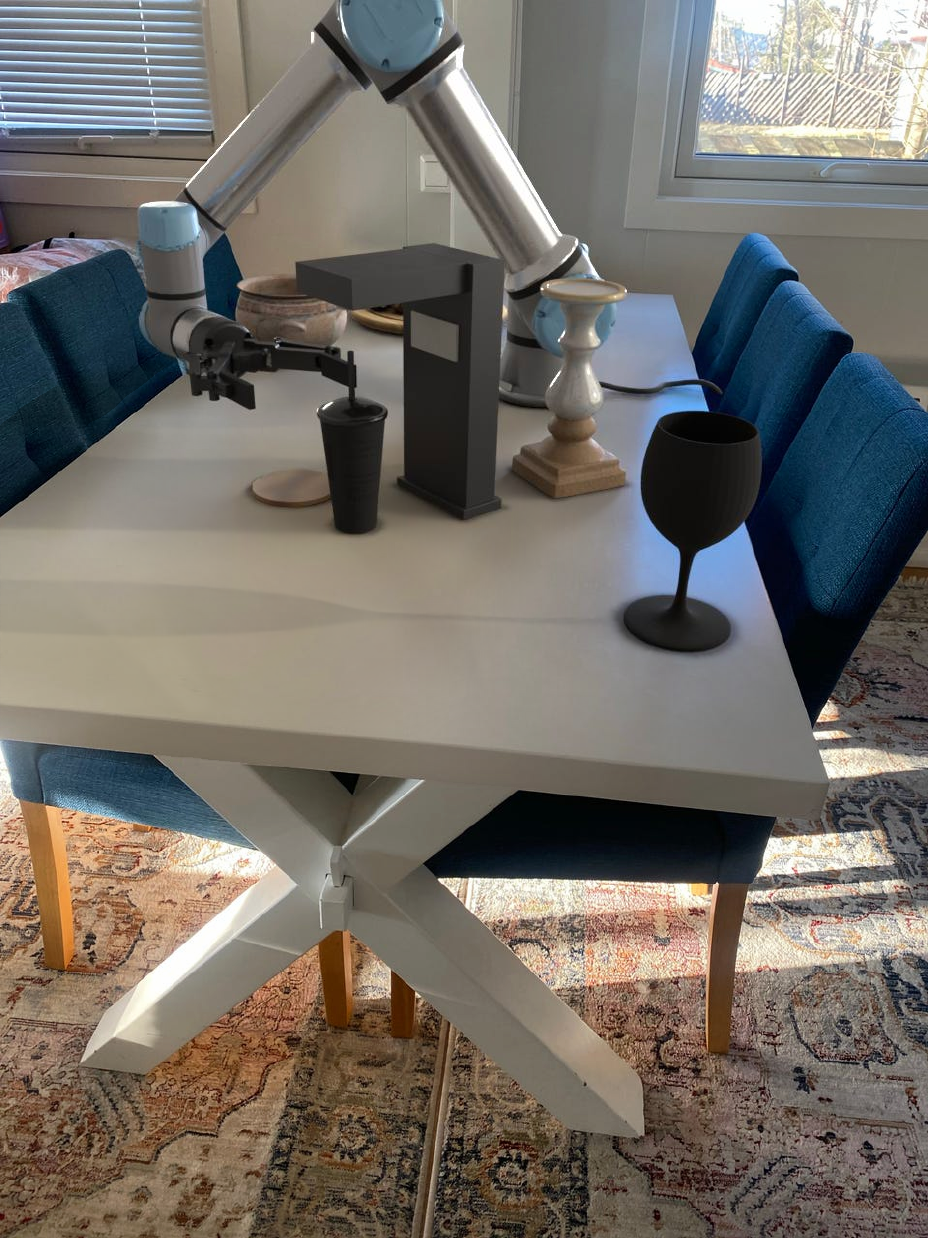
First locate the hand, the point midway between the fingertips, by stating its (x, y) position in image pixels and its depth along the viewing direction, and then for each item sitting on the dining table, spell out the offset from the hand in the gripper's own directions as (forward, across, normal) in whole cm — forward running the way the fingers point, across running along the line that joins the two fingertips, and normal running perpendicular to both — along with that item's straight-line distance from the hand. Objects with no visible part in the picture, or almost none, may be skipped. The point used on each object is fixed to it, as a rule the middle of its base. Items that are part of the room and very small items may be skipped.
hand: (304, 386), depth 111 cm
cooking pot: (-54, -31, -14) cm, 64 cm away
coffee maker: (+9, -7, -14) cm, 18 cm away
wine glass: (+47, -12, -14) cm, 50 cm away
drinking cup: (+9, 0, -14) cm, 17 cm away
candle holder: (+14, -30, -14) cm, 36 cm away
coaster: (-4, 0, -14) cm, 14 cm away
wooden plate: (-63, -68, -14) cm, 94 cm away
